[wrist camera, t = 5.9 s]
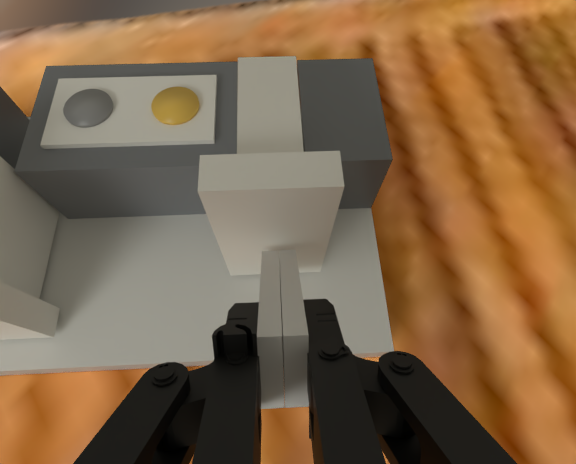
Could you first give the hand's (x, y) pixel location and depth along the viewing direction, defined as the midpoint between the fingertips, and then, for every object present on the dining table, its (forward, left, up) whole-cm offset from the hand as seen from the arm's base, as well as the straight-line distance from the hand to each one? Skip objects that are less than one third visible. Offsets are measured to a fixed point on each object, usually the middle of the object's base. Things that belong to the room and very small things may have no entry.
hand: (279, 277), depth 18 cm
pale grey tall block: (-4, +3, -3) cm, 6 cm away
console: (-9, -2, -5) cm, 10 cm away
